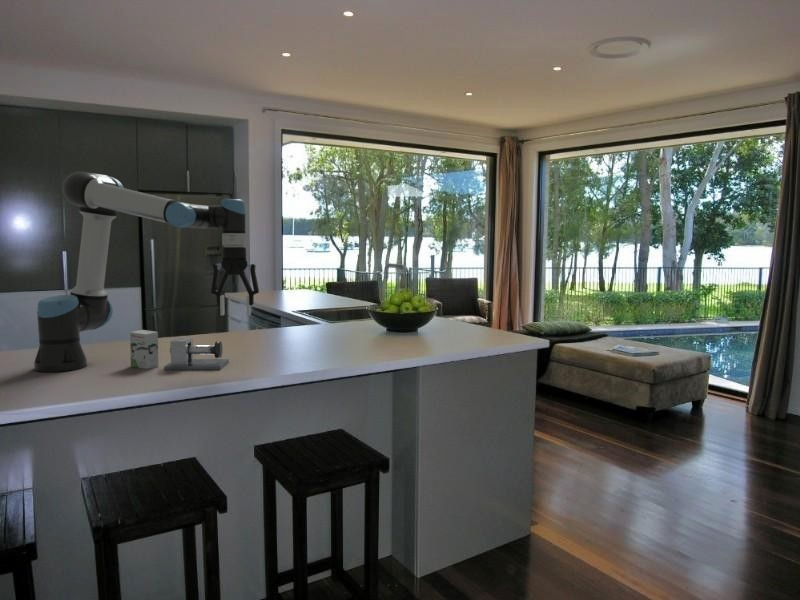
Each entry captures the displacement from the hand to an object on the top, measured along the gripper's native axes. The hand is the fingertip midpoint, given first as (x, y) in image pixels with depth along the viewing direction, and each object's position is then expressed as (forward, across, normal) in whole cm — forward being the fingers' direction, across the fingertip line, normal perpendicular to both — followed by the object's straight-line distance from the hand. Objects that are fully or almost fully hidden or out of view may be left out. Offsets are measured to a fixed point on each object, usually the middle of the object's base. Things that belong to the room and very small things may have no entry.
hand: (235, 314), depth 200 cm
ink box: (+18, -30, 0) cm, 35 cm away
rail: (+17, -13, 0) cm, 22 cm away
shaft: (+15, -13, 0) cm, 20 cm away
